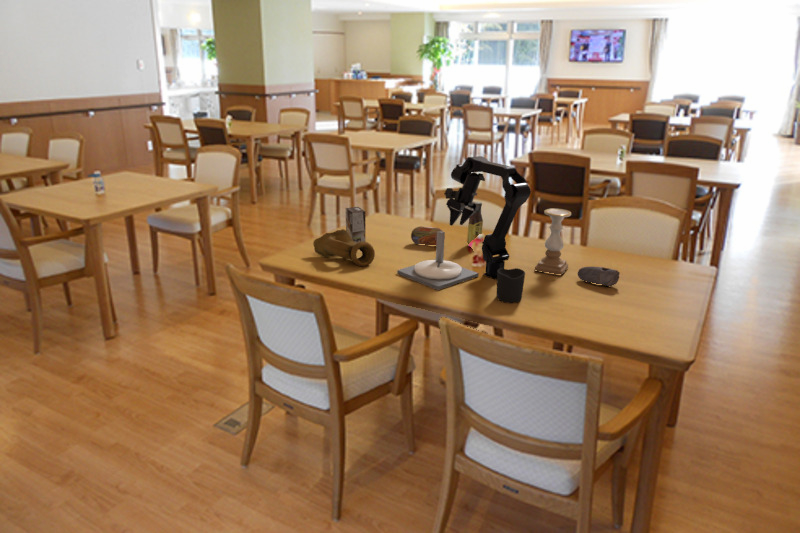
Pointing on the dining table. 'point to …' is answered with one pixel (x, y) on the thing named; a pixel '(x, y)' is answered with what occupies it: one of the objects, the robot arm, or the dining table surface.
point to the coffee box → (356, 224)
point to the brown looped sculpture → (344, 247)
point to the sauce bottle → (475, 224)
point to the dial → (438, 264)
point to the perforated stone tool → (599, 275)
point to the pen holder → (510, 284)
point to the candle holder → (554, 244)
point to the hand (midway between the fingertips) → (455, 225)
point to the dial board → (437, 283)
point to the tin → (425, 235)
